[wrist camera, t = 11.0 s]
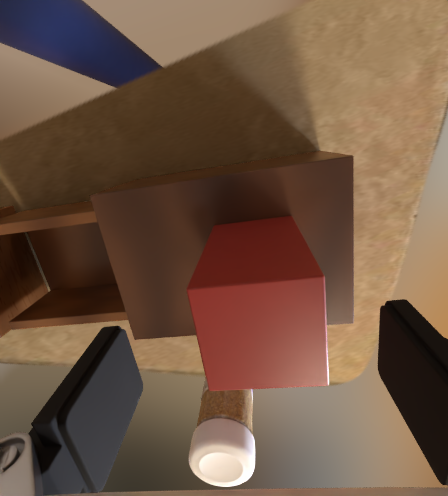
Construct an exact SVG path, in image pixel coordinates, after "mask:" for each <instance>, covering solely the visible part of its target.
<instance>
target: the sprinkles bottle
mask: <svg viewBox="0 0 448 496" xmlns="http://www.w3.org/2000/svg"><path fill="white" fill-rule="evenodd" d="M252 401H253V389H243V390H222V391H209V389H208V384H207V380H206V377H205V382H204V387H203V393H202V398H201V407H200V413H199V418H198V423H197V427H196V429H195V431H194V433H193V437H192V441H191V446H190V453H189V464H190V467H191V469H192V471H193V472H194V474H196V476H197V477H199V478H200V479H202V480H203V481H205V482H207V483H209V484H212V485H216V486H223V487H229V486H236V485H239V484H241V483H243V482H245V481H247V480H248V479H249V478H250V477H251V475H252V473H253V471H254V468H255V441H254V438H253V433H252Z"/></svg>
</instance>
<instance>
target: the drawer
mask: <svg viewBox="0 0 448 496" xmlns="http://www.w3.org/2000/svg"><path fill="white" fill-rule="evenodd" d="M24 232H27V233H28V236H29V238H30V240H31V243H32V245H33V248H34V250H35V253H36V255H37V258H38V260H39V263H40V265H41V268H42V270H43V273H44V275H45V277H46V280H47V282H48V285H49V287H50V290H51V291H49V292H48V289H47V287H46V284H45V282H44V280H43V277H42V275H41V272H40V270H39V267H38V265H37V262H36V260H35V258H34V255H33V253H32V250H31V248H30V245H29V243H28V240H27V238H26V236H25V233H24ZM120 320H128V317H127V314H126V311H125V307H124V304H123V301H122V298H121V295H120V291H119V288H118V285H117V282H116V279H115V276H114V272H113V269H112V266H111V263H110V260H109V256H108V253H107V250H106V247H105V244H104V241H103V237H102V234H101V231H100V228H99V225H98V221H97V218H96V215H95V212H94V209H93V206H92V202H91V201H86V202H79V203H72V204H65V205H59V206H52V207H45V208H38V209H32V210H25V211H22V212H19V213H16V211H15V209H14V206H6V207H1V208H0V338H1V337H2V336H3V335H5V334H6V333H7V332H8V331H10V330H11V329H12V330H14V329H26V328H37V327H49V326H61V325H73V324H84V323H96V322H108V321H120Z"/></svg>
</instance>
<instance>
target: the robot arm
mask: <svg viewBox="0 0 448 496" xmlns="http://www.w3.org/2000/svg"><path fill="white" fill-rule="evenodd" d="M378 371H379V374H380V377H381V379H382V381H383V382H384V384H385V386H386V388H387V390H388V391H389V393H390V395H391V397H392V399H393V400H394V402H395V404H396V406H397V407H398V409H399V411H400V413H401V415H402V416H403V418H404V420H405V422H406V424H407V425H408V427H409V429H410V431H411V432H412V434H413V436H414V438H415V440H416V441H417V443H418V445H419V447H420V448H421V450H422V452H423V454H424V455H425V457H426V459H427V461H428V463H429V465H430V466H431V468H432V470H433V472H434V473H435V475H436V477H437V479H438V480H439V482H440V483H441V484H443V485H448V339H446V338H444V337H443V336H442V335H441V334H439V332H438V331H437V330H436V329H435V328H434V327H433V326H432V325H431V324H430V323H429V322H428V321H427V320H426V319H425V318H424V317H423V316H422V315H421V314H420V313H419V312H418V311H417V310H416V309H415V308H414V307H413V306H412V305H411V304H410V303H409V302H408V301H407V300H392V301H387V302H386V303H385V306H381V308H380V326H379V349H378ZM142 391H143V382H142V379H141V376H140V373H139V370H138V367H137V364H136V361H135V358H134V355H133V352H132V349H131V346H130V343H129V340H128V337H127V334H126V331H125V330H124V329H121V327H120V326H111V327H104V328H102V329H101V330H100V332H99V333H98V334H97V336H96V337H95V338H94V340H93V341H92V343H91V344H90V345H89V347H88V348H87V349H86V351H85V352H84V353H83V355H82V356H81V357H80V359H79V360H78V361H77V363H76V364H75V365H74V367H73V368H72V369H71V371H70V372H69V374H68V375H67V376H66V378H65V379H64V380H63V382H62V383H61V384H60V386H59V387H58V388H57V390H56V391H55V392H54V394H53V395H52V396H51V398H50V399H49V400H48V402H47V403H46V404H45V406H44V407H43V408H42V410H41V411H40V412H39V414H38V415H37V416H36V418H35V419H34V420H33V422H32V423H31V425H32V426H33V428H32V430H31V431H30V432H29V434H27V433H26V432H16V433H12V434H10V435H7V436H5V437H3V438H1V439H0V496H448V488H414V487H411V488H410V487H408V488H407V487H403V488H401V487H399V488H398V487H377V488H376V487H375V488H300V489H297V488H294V489H241V490H240V489H237V490H184V491H145V492H144V491H143V492H103V493H98V491H101V490H102V489H103V487H104V485H105V483H106V481H107V478H108V476H109V473H110V471H111V468H112V466H113V463H114V461H115V458H116V456H117V453H118V451H119V448H120V446H121V443H122V441H123V438H124V436H125V433H126V431H127V428H128V426H129V423H130V421H131V419H132V416H133V413H134V411H135V409H136V406H137V404H138V401H139V399H140V396H141V393H142Z"/></svg>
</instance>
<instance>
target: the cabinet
mask: <svg viewBox="0 0 448 496" xmlns="http://www.w3.org/2000/svg"><path fill="white" fill-rule="evenodd" d="M90 199H91V202H92V206H93V209H94V212H95V215H96V218H97V221H98V225H99V228H100V231H101V234H102V237H103V241H104V244H105V247H106V250H107V253H108V256H109V260H110V263H111V266H112V269H113V272H114V276H115V279H116V282H117V285H118V288H119V291H120V295H121V298H122V301H123V304H124V307H125V311H126V314H127V317H128V320H129V323H130V327H131V330H132V333H133V336H134V339H135V340H137V339H150V338H164V337H177V336H190V335H196V331H195V326H194V322H193V317H192V313H191V308H190V304H189V299H188V295H187V291H186V289H187V287H188V284H189V282H190V280H191V277H192V275H193V273H194V270H195V268H196V266H197V263H198V261H199V259H200V257H201V254H202V252H203V250H204V247H205V245H206V243H207V240H208V238H209V236H210V233H211V231H212V229H213V227H214V226H215V225H222V224H230V223H238V222H246V221H254V220H261V219H269V218H277V217H285V216H292V217H293V219H294V221H295V223H296V224H297V226H298V228H299V230H300V232H301V234H302V235H303V237H304V239H305V241H306V243H307V245H308V246H309V248H310V250H311V252H312V254H313V256H314V257H315V259H316V261H317V263H318V265H319V267H320V269H321V270H322V272H323V274H324V276H325V294H326V319H327V325H337V324H351V323H354V225H353V156H352V155H345V154H338V153H331V152H325V151H314V152H308V153H302V154H295V155H289V156H282V157H276V158H269V159H263V160H256V161H250V162H244V163H237V164H231V165H224V166H218V167H211V168H205V169H198V170H192V171H186V172H179V173H173V174H166V175H160V176H153V177H147V178H140V179H136V180H133V181H130V182H127V183H124V184H121V185H118V186H115V187H112V188H110V189H107V190H104V191H101V192H98V193H95V194H92V195H90Z"/></svg>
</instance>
